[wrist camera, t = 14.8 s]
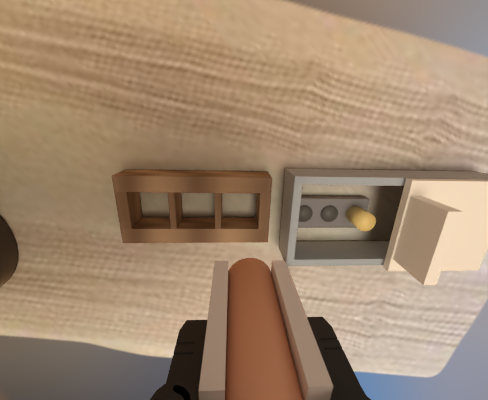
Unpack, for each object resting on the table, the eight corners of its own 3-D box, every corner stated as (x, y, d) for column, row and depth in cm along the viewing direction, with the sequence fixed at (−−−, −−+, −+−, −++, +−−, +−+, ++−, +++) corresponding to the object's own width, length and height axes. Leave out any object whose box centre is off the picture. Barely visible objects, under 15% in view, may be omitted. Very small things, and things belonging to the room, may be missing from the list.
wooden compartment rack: (134, 229, 27) (122, 242, 24) (125, 169, 24) (111, 175, 21) (264, 229, 28) (267, 242, 25) (267, 171, 25) (272, 177, 22)
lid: (383, 266, 25) (416, 298, 20) (406, 178, 22) (452, 193, 17) (471, 265, 26) (522, 296, 21) (506, 179, 22) (576, 194, 18)
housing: (278, 247, 28) (286, 266, 25) (285, 168, 25) (295, 176, 21) (447, 246, 30) (479, 264, 26) (474, 171, 27) (514, 179, 23)
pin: (227, 295, 14) (216, 676, 4) (227, 258, 13) (213, 631, 3) (269, 294, 14) (349, 662, 4) (272, 257, 13) (378, 616, 4)
